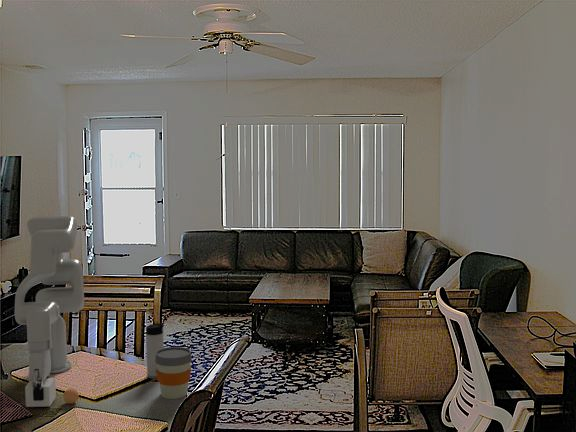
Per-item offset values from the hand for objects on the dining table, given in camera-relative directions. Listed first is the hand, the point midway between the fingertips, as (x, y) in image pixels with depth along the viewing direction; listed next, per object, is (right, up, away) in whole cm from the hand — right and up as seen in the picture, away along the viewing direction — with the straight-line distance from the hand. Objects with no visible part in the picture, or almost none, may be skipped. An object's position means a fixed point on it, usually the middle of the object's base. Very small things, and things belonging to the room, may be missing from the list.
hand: (42, 394), depth 224 cm
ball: (+9, -1, +1) cm, 9 cm away
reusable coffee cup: (+43, -2, +9) cm, 44 cm away
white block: (0, -2, 0) cm, 2 cm away
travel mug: (+33, 0, +26) cm, 42 cm away
